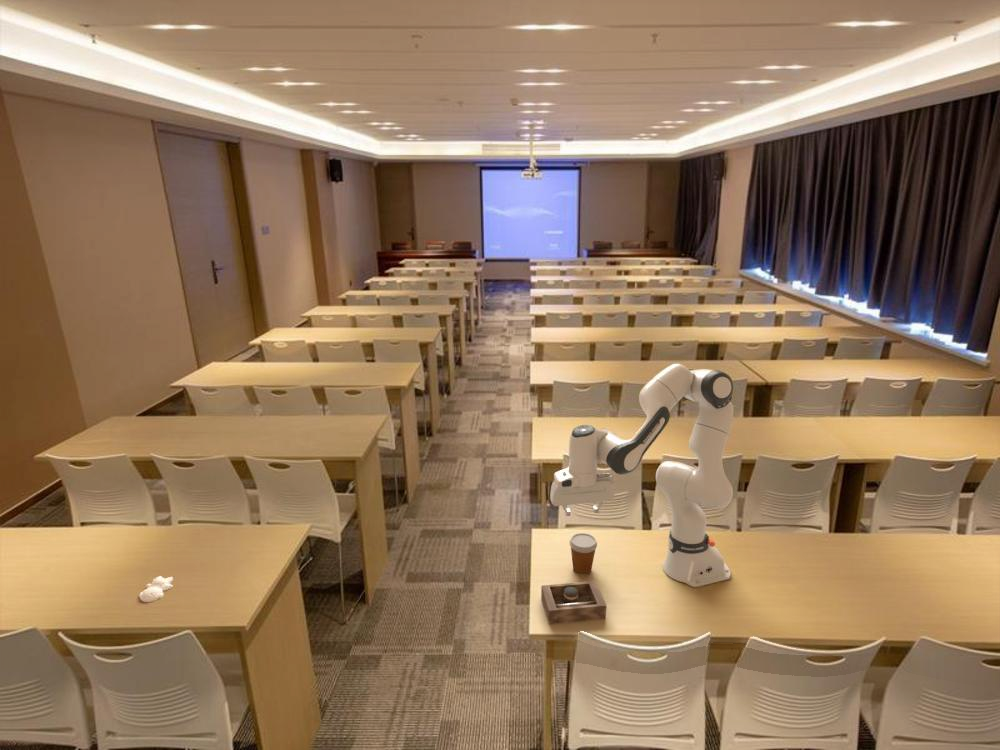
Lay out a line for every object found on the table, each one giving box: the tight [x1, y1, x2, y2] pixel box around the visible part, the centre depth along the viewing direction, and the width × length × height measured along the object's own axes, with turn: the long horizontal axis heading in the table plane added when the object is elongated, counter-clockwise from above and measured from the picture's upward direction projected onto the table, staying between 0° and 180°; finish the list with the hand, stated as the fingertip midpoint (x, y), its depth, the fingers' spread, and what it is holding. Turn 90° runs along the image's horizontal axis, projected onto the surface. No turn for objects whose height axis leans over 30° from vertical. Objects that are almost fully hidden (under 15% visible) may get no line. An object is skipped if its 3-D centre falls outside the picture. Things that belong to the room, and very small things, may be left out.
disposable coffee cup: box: [568, 532, 598, 576], centre depth 210 cm, size 10×10×12 cm
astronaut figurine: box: [138, 575, 174, 603], centre depth 202 cm, size 9×12×3 cm
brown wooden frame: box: [540, 580, 607, 625], centre depth 192 cm, size 18×12×5 cm, turn 97°
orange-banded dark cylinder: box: [563, 587, 579, 604], centre depth 194 cm, size 4×4×5 cm
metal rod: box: [555, 600, 596, 608], centre depth 189 cm, size 15×1×1 cm, turn 97°
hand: (581, 513), depth 195 cm, fingers open, 8 cm apart
